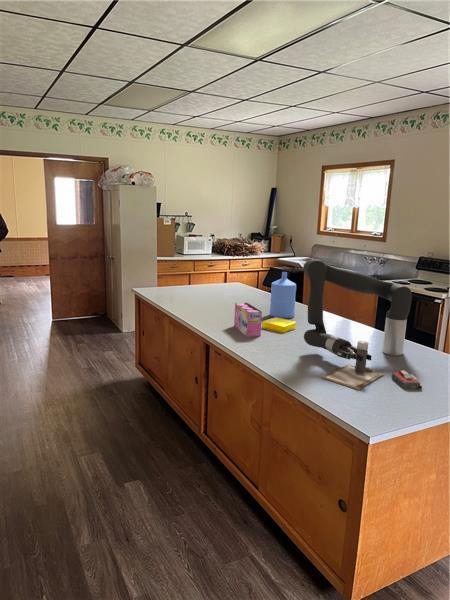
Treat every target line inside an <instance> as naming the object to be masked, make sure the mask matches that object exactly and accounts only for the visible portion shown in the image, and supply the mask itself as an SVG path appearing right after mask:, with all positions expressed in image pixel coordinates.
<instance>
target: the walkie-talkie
mask: <svg viewBox="0 0 450 600" xmlns="http://www.w3.org/2000/svg"><path fill="white" fill-rule="evenodd" d="M391 374H392V375H391V379H392V380H393V381H394V382H395V383H396V384H398V385H399V386H400V387H401V388H402V389H403V390H422V389H423V386H422V385H421V383H420V382H419V381H418V378H417V377H416V376H415V375H414V374H410V373H408V371H406V370H404V369H403V368H400V369H399V370H398V372H397V371H396V372H395V371H394V372H392V373H391Z"/></svg>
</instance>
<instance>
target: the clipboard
mask: <svg viewBox="0 0 450 600" xmlns="http://www.w3.org/2000/svg"><path fill="white" fill-rule="evenodd" d="M383 376H385V374H384V373H381V372H377V371H374V368H370V367H367V366H366V368H365V373H364V375H363V376H360V375H356V374H355V365H352V364H349V363H348V364H345V365H344V366H341V367H339V368H337V369H335V370H333V371H330V372H329V373H327V374H324V375H323V376H321V377H320V379H323V380H326V381H329V382H332V383H336V384H339V385H342V386H345V387H347V388H351V389H354V390H357V391H360V390H362V389H364V388H365V387H367V386H369V385H370V384H371V383H373V382H375V381H377V380H378V379H380V378H382V377H383Z"/></svg>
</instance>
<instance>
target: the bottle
mask: <svg viewBox="0 0 450 600" xmlns="http://www.w3.org/2000/svg"><path fill="white" fill-rule="evenodd" d="M356 345H357V346H356V348H357V354H358V355H360V356H363V361H362V362H360V361H358V360H356V359H355V365H354V366H355V374H356V375H360V376H363V375H364V373H365V368H366V367H367V351H369V350H368V349H369V342H368V341H365V340H359V341H357V344H356Z"/></svg>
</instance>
